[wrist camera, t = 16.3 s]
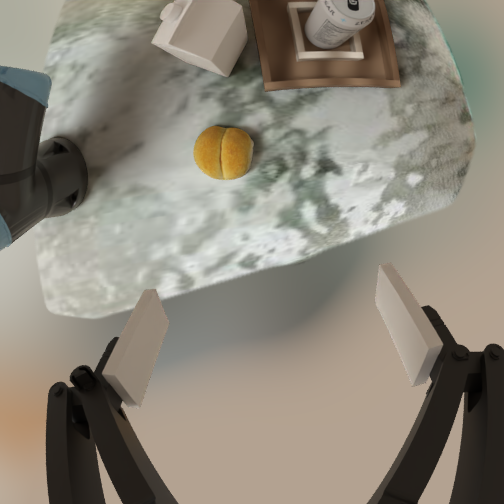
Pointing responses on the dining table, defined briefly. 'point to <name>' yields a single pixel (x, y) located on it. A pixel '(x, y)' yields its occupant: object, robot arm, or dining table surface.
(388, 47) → the walled box
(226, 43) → the milk carton
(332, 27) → the energy drink can
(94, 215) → the dining table surface
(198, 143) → the bread roll
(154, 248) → the dining table surface
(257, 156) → the dining table surface
